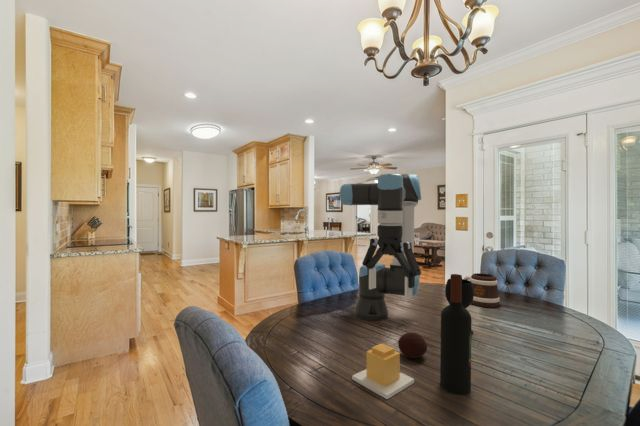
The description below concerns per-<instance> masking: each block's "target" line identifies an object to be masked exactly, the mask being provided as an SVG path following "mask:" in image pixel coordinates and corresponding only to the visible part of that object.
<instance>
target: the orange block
mask: <svg viewBox="0 0 640 426" xmlns="http://www.w3.org/2000/svg"><path fill="white" fill-rule="evenodd" d="M400 363H401V352H398V351H396V349H395V348H394V347H393V346H389V345H387V344H385V343H379V344H377V345H374V346H372V347H371V349H369V350H367V351H366V368H365V369H366V377H368V378H370V379H371V380H373V381H375V382H377V383H379V384H381V385H382V386H384V387H386V386H387V385H389V384H391V383H393V382H394V381H396V380H398V379H400V371H401V369H400V368H401V365H400Z"/></svg>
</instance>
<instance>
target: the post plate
mask: <svg viewBox="0 0 640 426" xmlns="http://www.w3.org/2000/svg"><path fill="white" fill-rule="evenodd" d="M351 379H352V380H353V381H355V382H356V383H357V384H359V385H361V386H363V387H365V388H366V389H368V390H370V391H372V392H374V393H375V394H377V395H379V396H380V397H382V398H384V399H386V400H389V399H390V398H392V397H393V396H395V395H397V394H398V393H400V392H402V391H404V390H405V389H406V388H408V387H411V386H412V385H413V384H414V383H415V379H414V378H413V377H411V376H409V375H407V374H405V373H403V372H400V379H398V380H396V381H394V382H393V383H391V384H389V385H387V386H386V387H384V386H382V385H381V384H379V383H377V382H375V381H373V380H371V379H370V378H368V377H366V368H365V369H364V370H361V371H359V372H357V373H355V374H352V377H351Z"/></svg>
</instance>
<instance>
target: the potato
mask: <svg viewBox="0 0 640 426" xmlns="http://www.w3.org/2000/svg"><path fill="white" fill-rule="evenodd" d="M397 345H398V350H399V351H400V353H402V354H403V356H405V357H407V358H409V359H413V360H414V359H418V358H421V357H423V356H424V355H425V354H426V352H427V349H428V344H427V341H426V340H425V339H424V337H423V336H422V335H420V334H418V333H416V332H407V333H404V334H402V335H401V336H400V337H399V339H398V341H397Z"/></svg>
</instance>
